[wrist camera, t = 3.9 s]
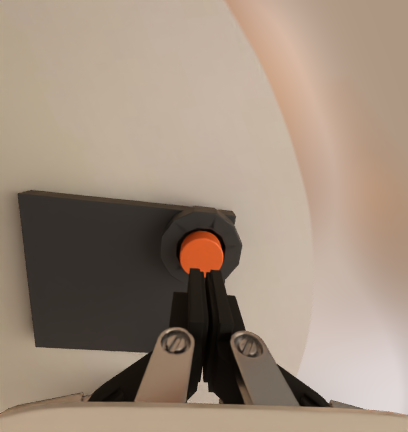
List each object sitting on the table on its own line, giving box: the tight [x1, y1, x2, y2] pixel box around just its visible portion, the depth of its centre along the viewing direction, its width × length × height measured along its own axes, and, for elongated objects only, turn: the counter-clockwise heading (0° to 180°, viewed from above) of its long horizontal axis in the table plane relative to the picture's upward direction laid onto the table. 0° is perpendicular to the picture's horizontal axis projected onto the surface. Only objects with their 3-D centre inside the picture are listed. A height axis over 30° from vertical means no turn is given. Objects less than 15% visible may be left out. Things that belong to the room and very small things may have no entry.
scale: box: [18, 190, 242, 353], centre depth 18 cm, size 16×14×3 cm
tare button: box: [180, 231, 224, 278], centre depth 16 cm, size 3×3×2 cm
